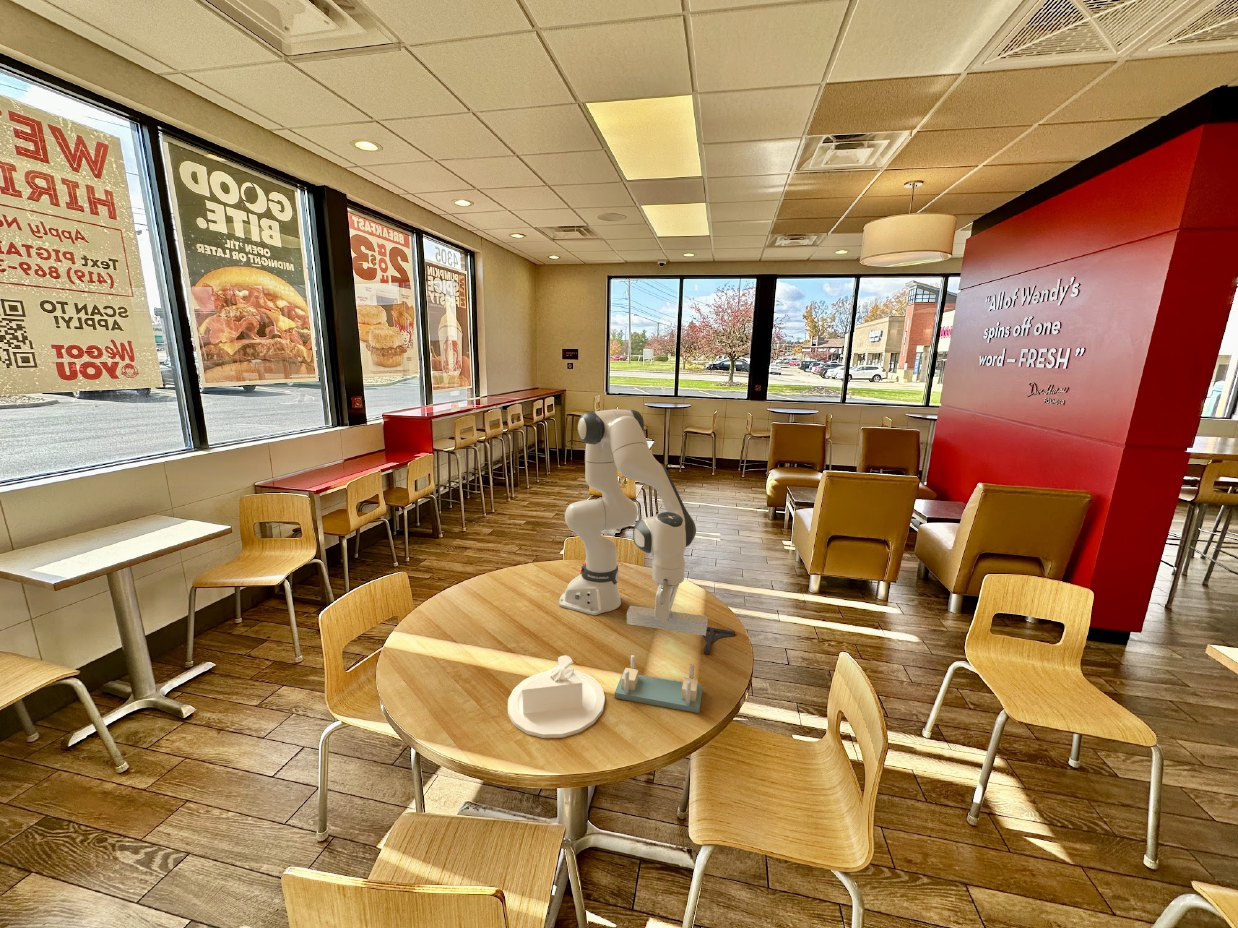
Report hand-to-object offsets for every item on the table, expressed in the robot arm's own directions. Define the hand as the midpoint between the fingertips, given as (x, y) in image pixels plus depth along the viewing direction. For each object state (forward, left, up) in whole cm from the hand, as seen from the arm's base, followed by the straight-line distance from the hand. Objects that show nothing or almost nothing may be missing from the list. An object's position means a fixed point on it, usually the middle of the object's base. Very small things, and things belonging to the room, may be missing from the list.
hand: (666, 618), depth 137 cm
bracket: (+11, +19, -17) cm, 28 cm away
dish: (-25, -20, -17) cm, 36 cm away
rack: (0, -10, -16) cm, 19 cm away
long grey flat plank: (0, 0, -2) cm, 2 cm away
